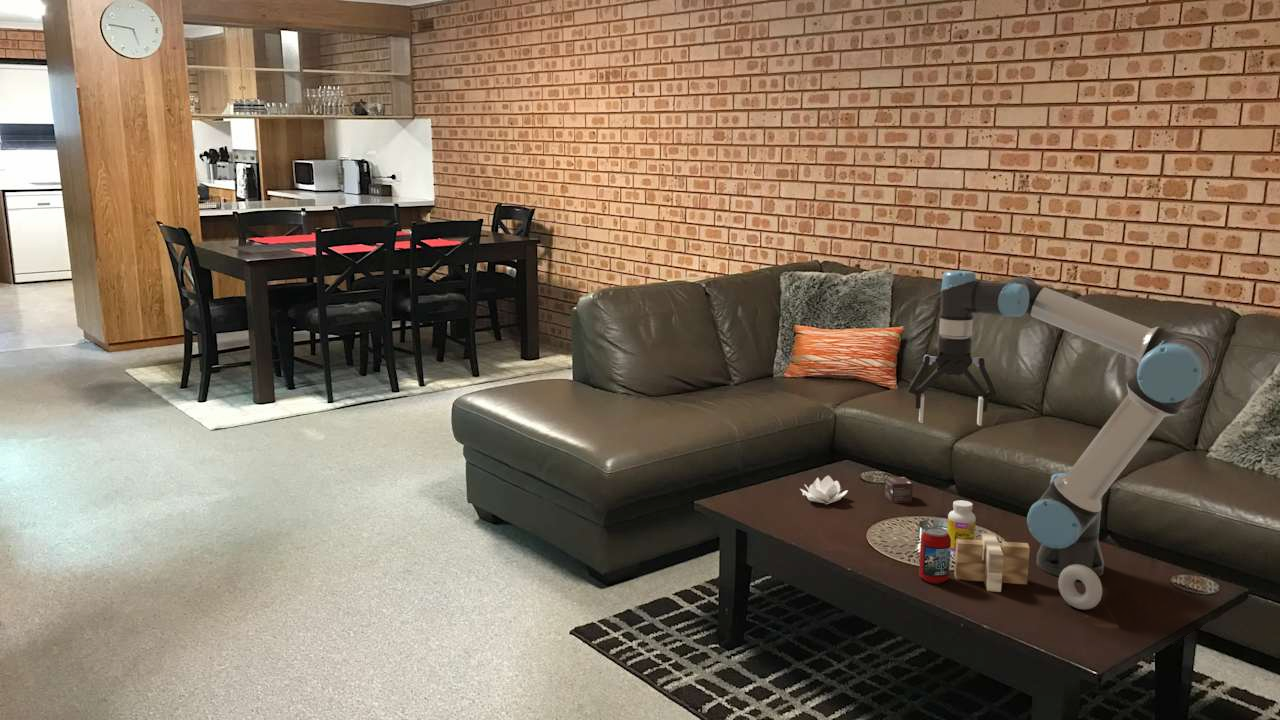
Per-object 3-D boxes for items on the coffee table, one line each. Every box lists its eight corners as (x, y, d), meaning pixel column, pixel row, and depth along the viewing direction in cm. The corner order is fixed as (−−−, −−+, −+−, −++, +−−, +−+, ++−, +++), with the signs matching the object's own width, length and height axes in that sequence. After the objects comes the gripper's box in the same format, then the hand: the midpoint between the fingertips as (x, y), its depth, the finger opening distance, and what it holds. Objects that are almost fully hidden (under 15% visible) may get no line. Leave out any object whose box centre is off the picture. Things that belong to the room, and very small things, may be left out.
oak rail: (1024, 579, 247) (1027, 543, 245) (1026, 584, 244) (1029, 547, 242) (954, 574, 249) (956, 538, 248) (955, 579, 246) (958, 543, 245)
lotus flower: (858, 513, 293) (859, 483, 291) (807, 516, 290) (808, 486, 288) (839, 497, 307) (840, 468, 305) (790, 499, 304) (791, 471, 302)
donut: (1103, 614, 228) (1107, 570, 226) (1094, 618, 226) (1098, 574, 224) (1062, 598, 236) (1065, 556, 234) (1053, 602, 234) (1056, 560, 232)
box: (884, 501, 302) (885, 477, 301) (904, 500, 303) (905, 476, 302) (891, 508, 297) (892, 483, 295) (912, 507, 297) (913, 483, 296)
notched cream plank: (979, 567, 253) (981, 532, 252) (991, 568, 253) (994, 533, 251) (987, 590, 240) (989, 553, 238) (1000, 591, 239) (1003, 554, 238)
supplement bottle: (950, 556, 260) (953, 507, 258) (942, 547, 267) (945, 499, 264) (977, 556, 261) (980, 507, 258) (968, 547, 267) (971, 498, 265)
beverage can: (928, 586, 242) (931, 537, 240) (913, 575, 249) (916, 527, 246) (954, 583, 244) (957, 534, 242) (938, 572, 250) (941, 524, 248)
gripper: (1007, 335, 250) (1001, 421, 254) (900, 331, 254) (895, 416, 258) (1012, 340, 242) (1006, 429, 246) (902, 337, 247) (897, 424, 251)
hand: (949, 423), depth 252 cm, fingers open, 13 cm apart
